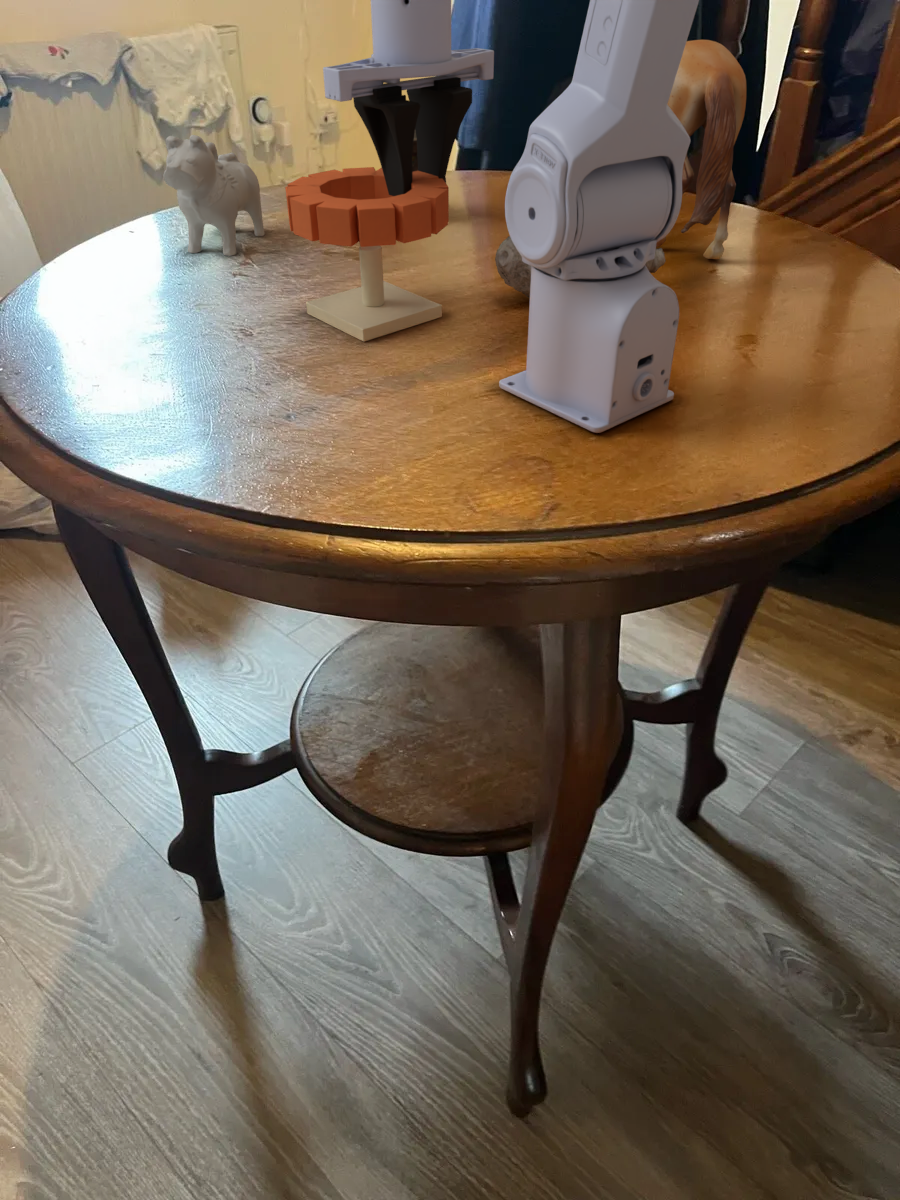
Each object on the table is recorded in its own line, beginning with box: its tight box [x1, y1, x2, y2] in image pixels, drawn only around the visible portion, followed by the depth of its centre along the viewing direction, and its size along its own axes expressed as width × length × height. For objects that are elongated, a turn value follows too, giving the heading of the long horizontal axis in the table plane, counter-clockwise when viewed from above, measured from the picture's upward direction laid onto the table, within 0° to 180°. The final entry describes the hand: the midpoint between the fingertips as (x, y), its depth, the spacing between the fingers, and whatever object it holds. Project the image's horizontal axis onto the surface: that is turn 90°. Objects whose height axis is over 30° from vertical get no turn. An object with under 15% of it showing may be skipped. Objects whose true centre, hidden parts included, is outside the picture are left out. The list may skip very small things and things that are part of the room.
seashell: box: [494, 235, 667, 299], centre depth 76 cm, size 6×14×8 cm, turn 95°
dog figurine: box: [162, 134, 266, 257], centre depth 86 cm, size 5×13×11 cm, turn 165°
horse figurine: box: [656, 39, 747, 260], centre depth 85 cm, size 31×8×21 cm, turn 13°
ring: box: [285, 166, 450, 248], centre depth 69 cm, size 12×12×3 cm
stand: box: [305, 245, 443, 343], centre depth 73 cm, size 8×8×6 cm
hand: (416, 192), depth 71 cm, fingers closed on ring, 3 cm apart
